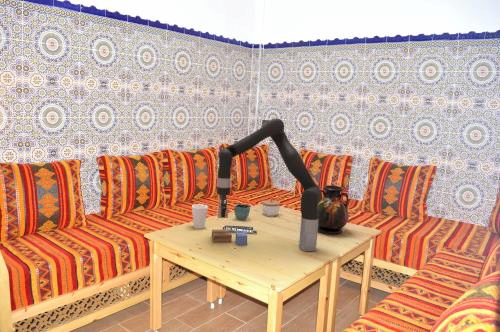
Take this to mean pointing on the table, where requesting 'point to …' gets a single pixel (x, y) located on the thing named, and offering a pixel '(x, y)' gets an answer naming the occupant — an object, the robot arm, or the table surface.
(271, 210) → the lidded bowl
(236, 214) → the flower pot
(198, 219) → the foam cup
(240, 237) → the blue block
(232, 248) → the table surface
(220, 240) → the plinth
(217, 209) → the terracotta block
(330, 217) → the amphora vase
